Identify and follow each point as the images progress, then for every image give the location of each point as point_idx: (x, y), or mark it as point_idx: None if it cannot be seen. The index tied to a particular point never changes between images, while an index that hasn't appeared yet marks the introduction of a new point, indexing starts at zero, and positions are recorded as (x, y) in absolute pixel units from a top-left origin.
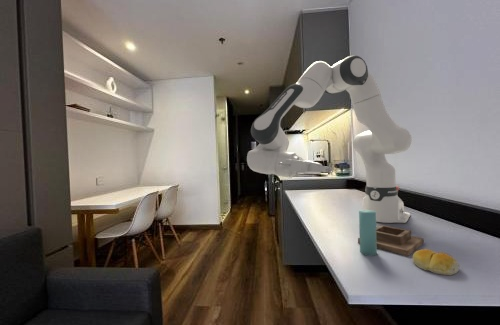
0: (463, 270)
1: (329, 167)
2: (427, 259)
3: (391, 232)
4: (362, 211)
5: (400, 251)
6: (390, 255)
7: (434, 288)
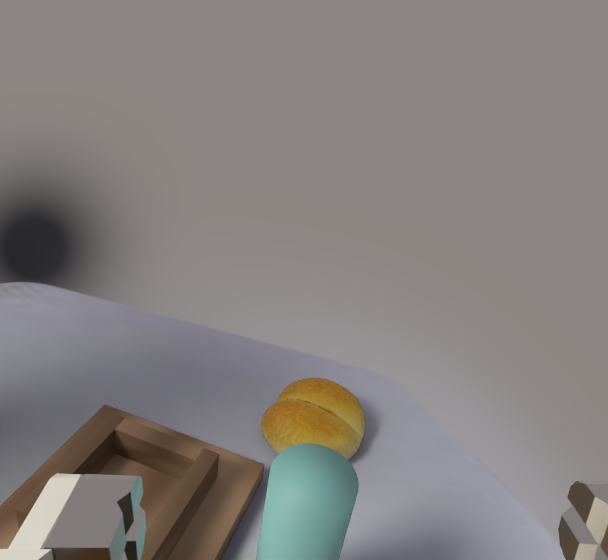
0: None
1: (116, 505)
2: (347, 426)
3: None
4: (320, 499)
5: (253, 489)
6: None
7: (447, 455)
